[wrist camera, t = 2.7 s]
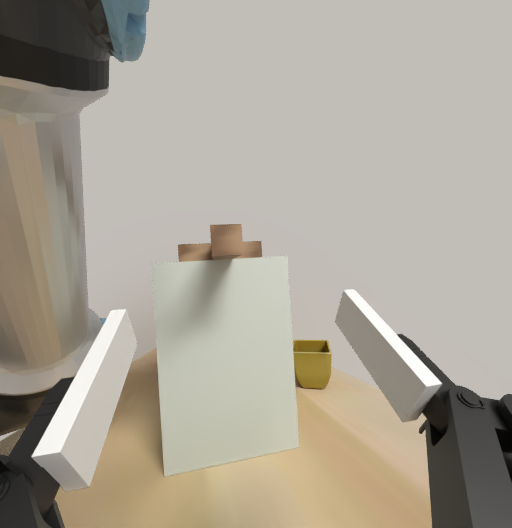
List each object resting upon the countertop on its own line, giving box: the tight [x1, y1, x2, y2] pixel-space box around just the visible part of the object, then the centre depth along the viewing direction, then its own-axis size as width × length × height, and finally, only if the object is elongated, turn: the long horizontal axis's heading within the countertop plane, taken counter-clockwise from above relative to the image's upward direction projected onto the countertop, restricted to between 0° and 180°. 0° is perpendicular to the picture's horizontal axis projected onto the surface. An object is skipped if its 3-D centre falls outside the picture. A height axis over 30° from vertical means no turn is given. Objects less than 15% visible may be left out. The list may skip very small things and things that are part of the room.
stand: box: [151, 256, 299, 477], centre depth 39 cm, size 20×10×30 cm, turn 100°
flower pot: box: [293, 340, 331, 389], centre depth 54 cm, size 9×9×9 cm
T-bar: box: [178, 224, 262, 262], centre depth 32 cm, size 14×21×3 cm, turn 10°
